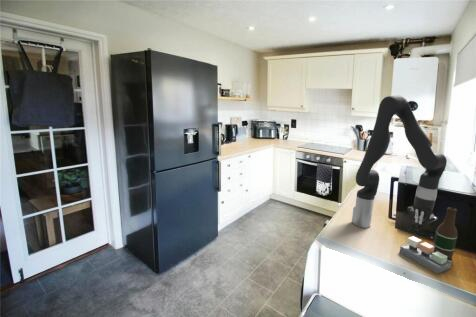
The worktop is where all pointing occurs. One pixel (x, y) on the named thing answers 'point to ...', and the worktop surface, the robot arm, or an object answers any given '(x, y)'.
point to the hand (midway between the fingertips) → (417, 230)
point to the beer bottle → (446, 234)
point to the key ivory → (414, 241)
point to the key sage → (439, 257)
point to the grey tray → (424, 258)
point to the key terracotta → (426, 248)
